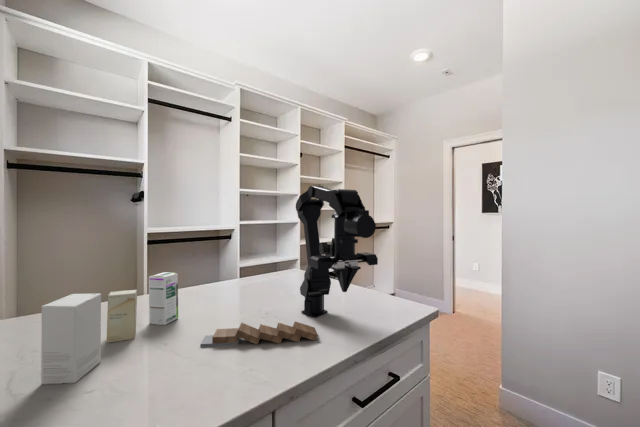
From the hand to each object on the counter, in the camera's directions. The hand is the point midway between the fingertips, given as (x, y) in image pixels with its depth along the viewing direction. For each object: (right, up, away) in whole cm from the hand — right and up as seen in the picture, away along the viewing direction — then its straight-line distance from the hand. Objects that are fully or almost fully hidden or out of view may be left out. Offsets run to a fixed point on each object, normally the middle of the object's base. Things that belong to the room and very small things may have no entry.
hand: (344, 291), depth 79 cm
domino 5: (-8, -11, -1) cm, 14 cm away
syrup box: (-55, -12, +9) cm, 57 cm away
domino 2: (-22, -11, -3) cm, 25 cm away
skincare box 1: (-58, -12, -19) cm, 62 cm away
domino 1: (-28, -10, -4) cm, 30 cm away
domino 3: (-17, -11, -3) cm, 21 cm away
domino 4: (-12, -11, -2) cm, 17 cm away
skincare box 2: (-59, -12, -2) cm, 61 cm away
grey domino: (-28, -12, -4) cm, 31 cm away
